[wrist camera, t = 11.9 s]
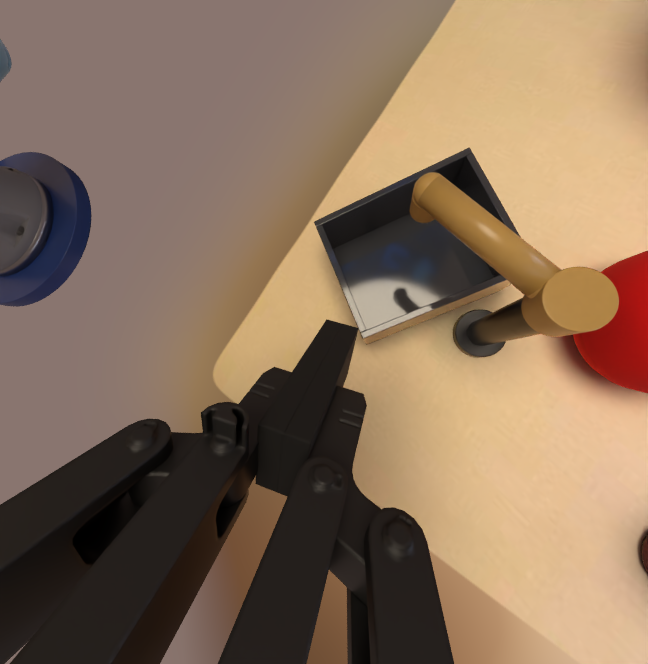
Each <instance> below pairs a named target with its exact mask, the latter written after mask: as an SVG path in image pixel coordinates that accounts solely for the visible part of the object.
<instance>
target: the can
mask: <svg viewBox="0 0 648 664" xmlns="http://www.w3.org/2000/svg"><path fill="white" fill-rule="evenodd" d="M641 553H642V559H643V563H644V567H645V568H646V570H647V572H648V534H647V536H646V537H645V539H644V540H643V544H642V549H641Z"/></svg>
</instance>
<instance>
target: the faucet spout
mask: <svg viewBox="0 0 648 664" xmlns="http://www.w3.org/2000/svg"><path fill="white" fill-rule="evenodd" d="M410 215H411V217H412V218H413V219H414V220H415V221H417V222H420V223H428V222H431V221H433V220H434V219H435V220H436V221H438V222H439V223H440V224H441V225H442V226H444V227H445V228H446V229H447V230H448V231H450V232H451V233H452V234H453V235H454V236H456V237H457V238H458V239H459V240H460V241H461V242H463V243H464V244H465V245H466V246H467V247H469V248H470V249H471V250H472V251H473V252H475V253H476V254H477V255H478V256H479V257H480V258H482V259H483V260H484V261H485V262H486V263H488V264H489V265H490V266H491V267H492V268H494V269H495V270H496V271H497V272H498V273H499V274H501V275H502V276H503V277H504V278H505V279H507V280H508V281H509V282H510V283H511V284H513V285H514V286H515V287H516V288H517V289H518V290H520V291H521V292H522V293H523V294H524V297H523V300H522V305H521V309H522V314H523V317H524V319H525V321H526V322H527V324H528V325H529V326H530V327H531V328H532V329H534V330H535V331H537V332H538V333H541V334H543V335H546V336H551V337H561V336H567V335H573V334H578V333H584V332H590V331H594V330H597V329H600V328H602V327H603V326H605V325H606V324H608V323H609V322H610V321H611V320H612V319H613V317H614V316H615V314H616V312H617V309H618V305H619V297H618V293H617V290H616V288H615V286H614V284H613V283H612V282H611V281H610V279H609V278H607V277H606V276H605V275H604V274H602V273H600V272H598V271H596V270H594V269H590V268H585V267H571V268H566V269H563V270H561V269H560V268H558V267H557V266H556V265H555V264H553V263H552V262H551V261H550V260H548V259H547V258H546V257H544V256H543V255H542V254H541V253H539V252H538V251H537V250H536V249H534V248H533V247H532V246H531V245H529V244H528V243H527V242H526V241H524V240H523V239H522V238H520V237H519V236H518V235H517V234H515V233H514V232H513V231H512V230H510V229H509V228H508V227H507V226H505V225H504V224H503V223H502V222H500V221H499V220H498V219H496V218H495V217H494V216H493V215H491V214H490V213H489V212H488V211H486V210H485V209H484V208H483V207H481V206H480V205H479V204H478V203H476V202H475V201H474V200H472V199H471V198H470V197H469V196H467V195H466V194H465V193H464V192H462V191H461V190H460V189H459V188H457V187H456V186H455V185H454V184H452V183H451V182H450V181H448V180H447V179H446V178H445V177H443V176H442V175H441V174H439V173H435V172H431V173H427V174H424V175H423V176H421V177H420V178H419V179H418V180H417V182H416V183H415V186H414V189H413V194H412V199H411V204H410Z"/></svg>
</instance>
